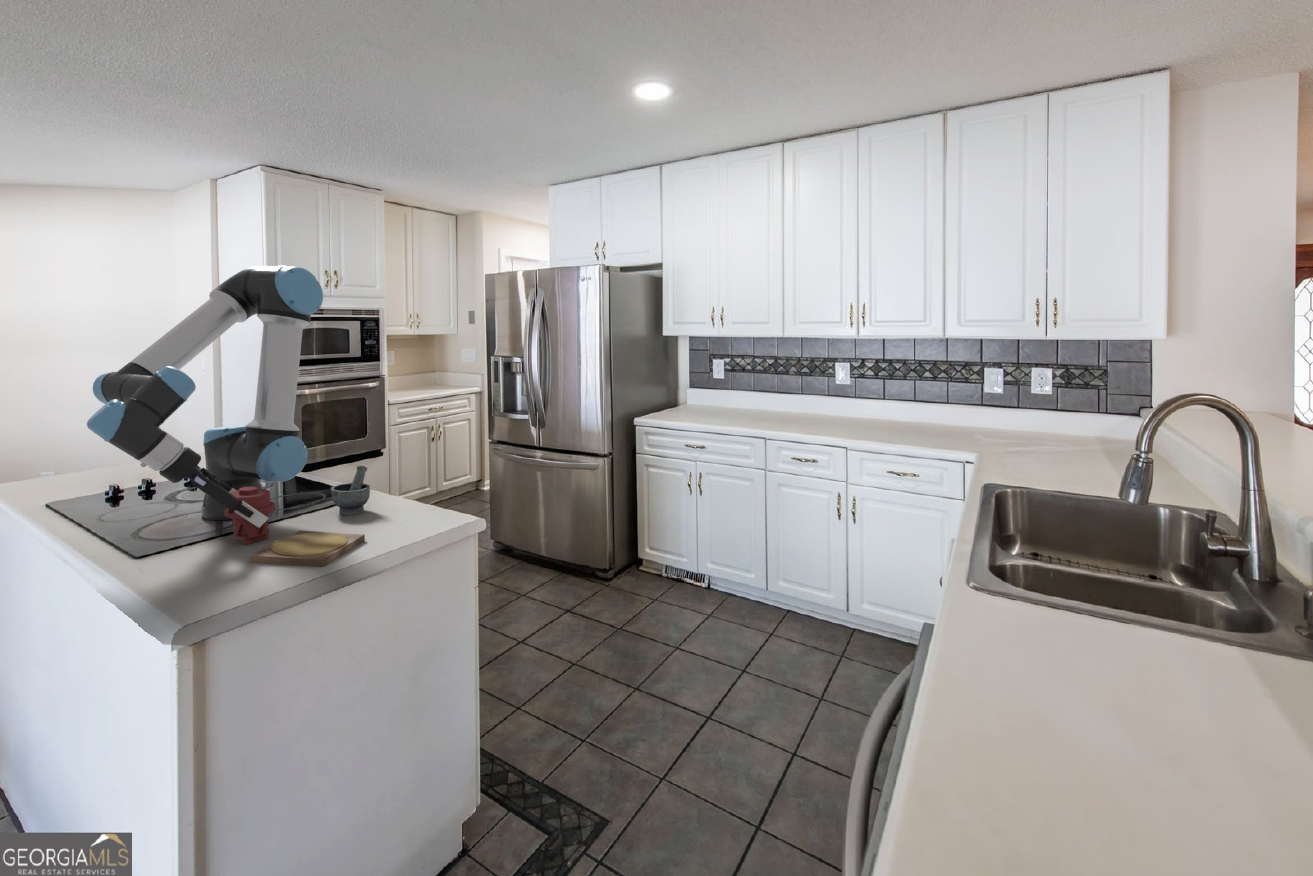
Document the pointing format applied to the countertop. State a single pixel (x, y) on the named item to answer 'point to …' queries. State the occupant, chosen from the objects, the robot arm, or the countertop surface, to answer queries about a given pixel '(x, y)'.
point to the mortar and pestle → (352, 494)
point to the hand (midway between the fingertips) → (258, 515)
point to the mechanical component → (259, 502)
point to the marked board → (307, 548)
